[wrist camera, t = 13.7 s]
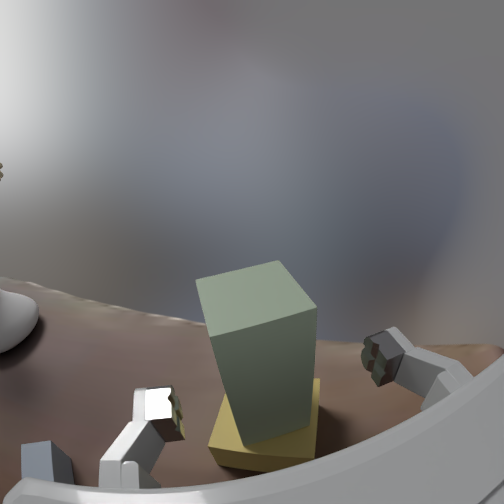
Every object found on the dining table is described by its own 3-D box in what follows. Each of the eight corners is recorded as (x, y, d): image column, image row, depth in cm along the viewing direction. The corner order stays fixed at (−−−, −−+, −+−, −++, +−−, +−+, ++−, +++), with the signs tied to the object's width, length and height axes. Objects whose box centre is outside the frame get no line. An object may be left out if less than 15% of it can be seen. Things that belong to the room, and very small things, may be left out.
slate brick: (84, 525, 9) (58, 513, 8) (51, 526, 8) (25, 513, 7) (71, 459, 14) (50, 440, 13) (43, 463, 13) (21, 444, 12)
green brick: (309, 425, 15) (317, 307, 10) (243, 446, 14) (209, 337, 10) (285, 379, 18) (278, 260, 14) (227, 395, 17) (195, 279, 13)
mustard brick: (309, 476, 14) (314, 458, 13) (218, 466, 15) (207, 446, 14) (316, 406, 19) (319, 378, 18) (238, 400, 21) (232, 372, 19)
